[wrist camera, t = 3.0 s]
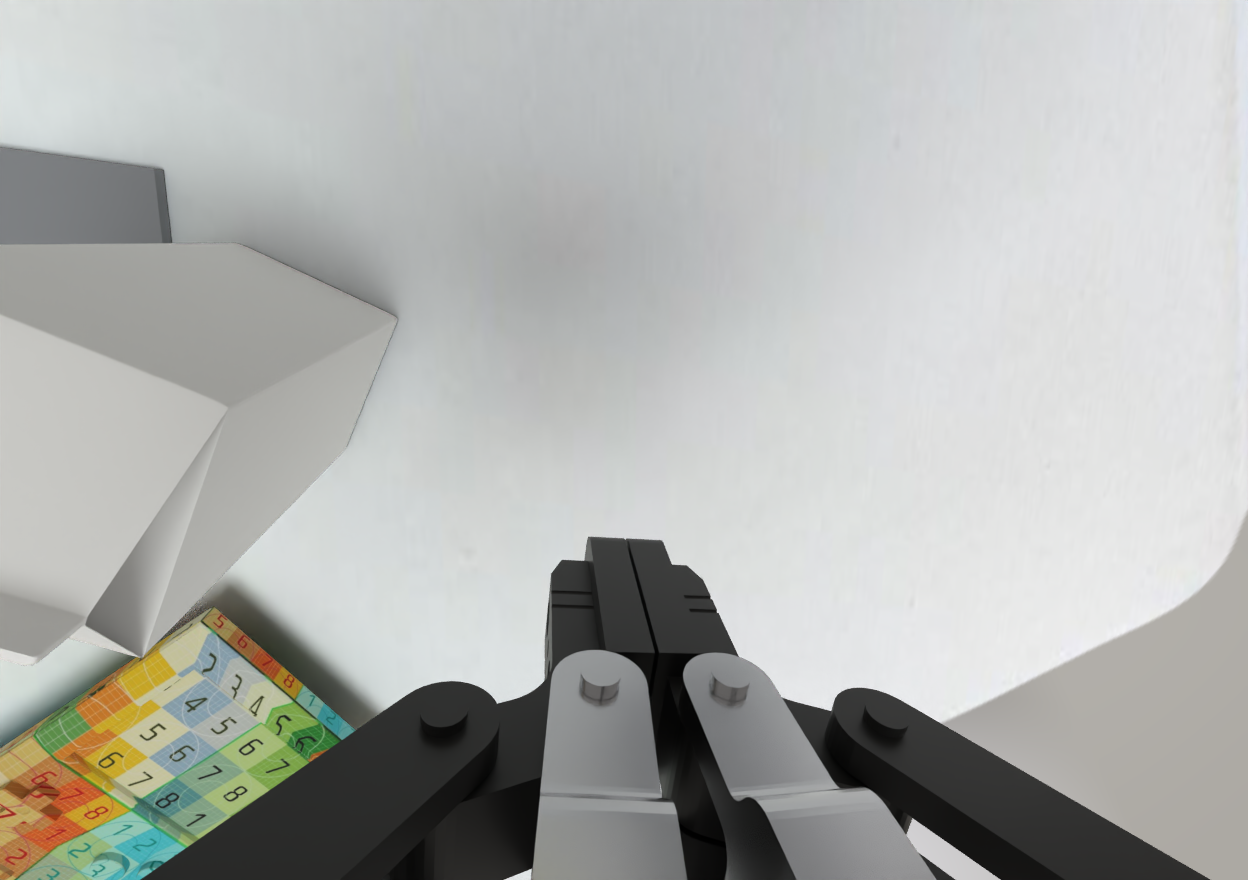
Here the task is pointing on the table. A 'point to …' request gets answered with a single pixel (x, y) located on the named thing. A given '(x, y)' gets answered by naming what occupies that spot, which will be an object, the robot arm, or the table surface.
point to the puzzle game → (156, 757)
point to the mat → (79, 201)
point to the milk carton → (158, 426)
